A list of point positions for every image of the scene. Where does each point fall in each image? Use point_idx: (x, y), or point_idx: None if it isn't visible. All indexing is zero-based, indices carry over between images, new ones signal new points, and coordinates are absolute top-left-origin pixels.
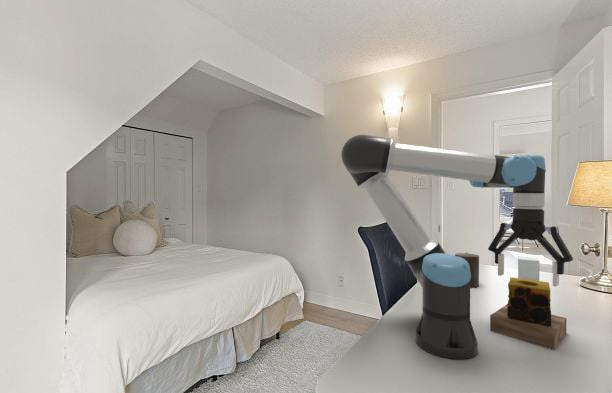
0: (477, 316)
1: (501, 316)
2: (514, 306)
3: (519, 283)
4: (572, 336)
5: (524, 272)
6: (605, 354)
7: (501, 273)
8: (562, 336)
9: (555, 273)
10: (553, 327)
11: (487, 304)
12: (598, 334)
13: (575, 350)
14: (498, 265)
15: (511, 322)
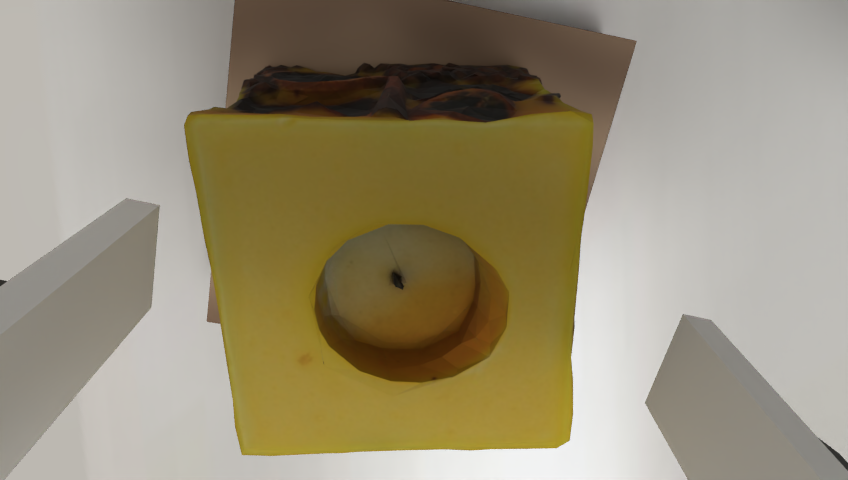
0: (680, 232)
1: (563, 70)
2: (493, 85)
3: (482, 227)
4: (204, 253)
5: None
6: (49, 93)
7: (680, 352)
8: None
9: (50, 263)
10: (252, 73)
11: (629, 473)
12: (107, 367)
13: (172, 42)
14: (770, 391)
15: (495, 11)
